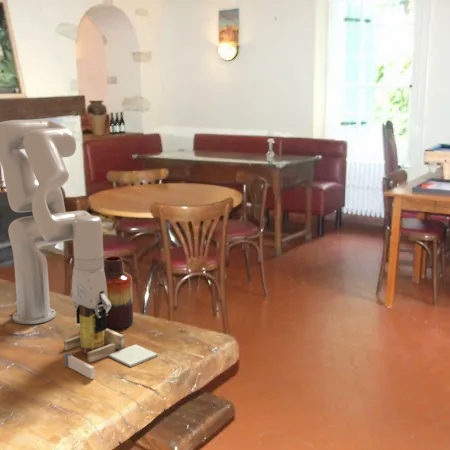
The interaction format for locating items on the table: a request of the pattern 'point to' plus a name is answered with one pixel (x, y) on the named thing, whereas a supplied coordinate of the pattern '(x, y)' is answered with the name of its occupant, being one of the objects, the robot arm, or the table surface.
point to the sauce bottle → (89, 330)
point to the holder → (110, 338)
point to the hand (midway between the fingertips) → (91, 325)
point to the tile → (133, 355)
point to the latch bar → (78, 365)
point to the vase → (118, 294)
